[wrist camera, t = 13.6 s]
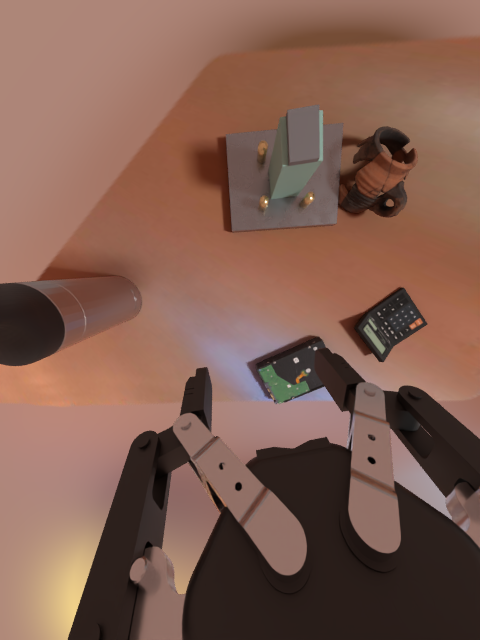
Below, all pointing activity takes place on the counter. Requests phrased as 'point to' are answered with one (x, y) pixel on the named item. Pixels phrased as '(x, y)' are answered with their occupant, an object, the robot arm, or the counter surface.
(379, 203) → the pottery mug
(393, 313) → the calculator
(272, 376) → the disk drive
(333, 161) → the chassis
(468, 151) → the counter surface
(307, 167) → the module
